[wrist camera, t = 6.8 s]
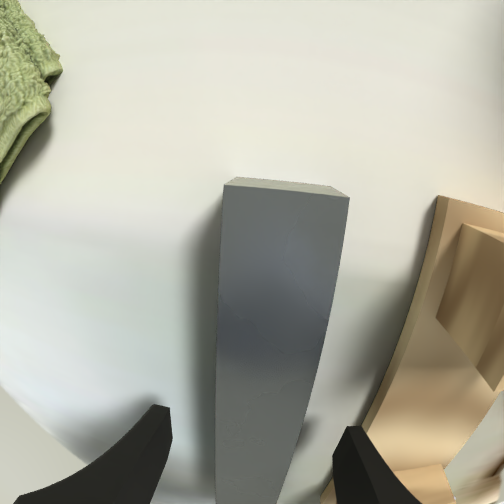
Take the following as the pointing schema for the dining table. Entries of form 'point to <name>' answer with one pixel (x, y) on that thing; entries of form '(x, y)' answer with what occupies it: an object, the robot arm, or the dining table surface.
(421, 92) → the dining table surface
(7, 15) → the washcloth
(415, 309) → the tan piece
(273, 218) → the rail
